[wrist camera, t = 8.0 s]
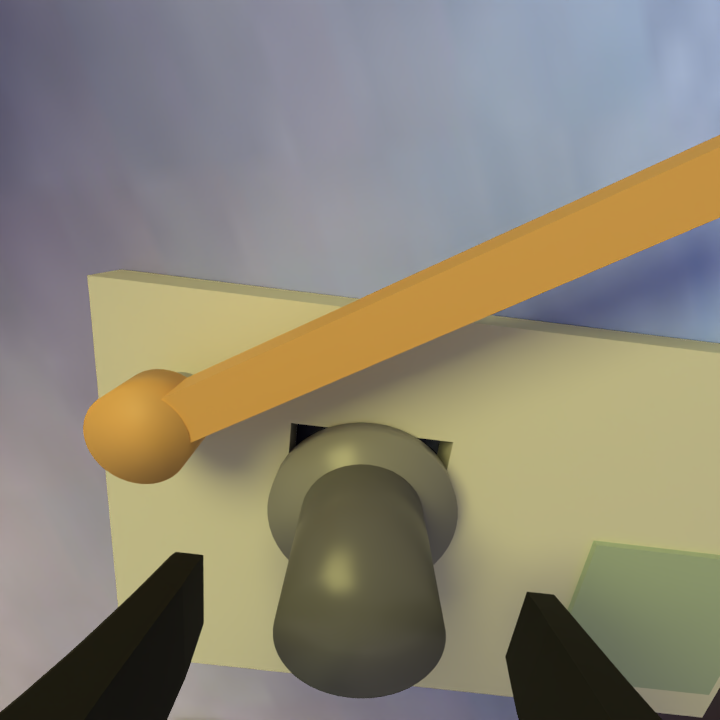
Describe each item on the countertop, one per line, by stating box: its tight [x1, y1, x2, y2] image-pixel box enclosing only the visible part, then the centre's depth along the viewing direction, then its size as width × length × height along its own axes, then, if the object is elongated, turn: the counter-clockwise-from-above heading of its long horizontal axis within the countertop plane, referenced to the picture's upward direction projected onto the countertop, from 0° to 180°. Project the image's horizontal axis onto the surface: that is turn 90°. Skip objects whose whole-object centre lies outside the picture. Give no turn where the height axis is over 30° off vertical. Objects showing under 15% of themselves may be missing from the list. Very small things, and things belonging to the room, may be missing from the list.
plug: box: [267, 422, 458, 698], centre depth 11 cm, size 6×6×6 cm
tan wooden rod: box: [83, 135, 720, 484], centre depth 9 cm, size 2×16×1 cm, turn 115°
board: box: [87, 269, 720, 717], centre depth 13 cm, size 14×22×2 cm, turn 83°
